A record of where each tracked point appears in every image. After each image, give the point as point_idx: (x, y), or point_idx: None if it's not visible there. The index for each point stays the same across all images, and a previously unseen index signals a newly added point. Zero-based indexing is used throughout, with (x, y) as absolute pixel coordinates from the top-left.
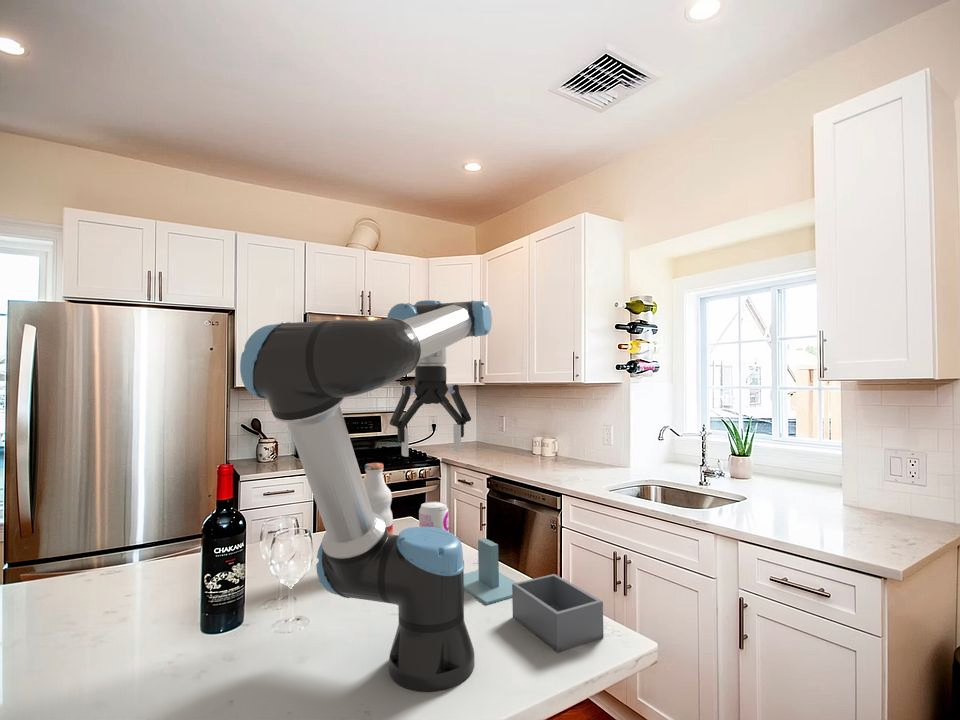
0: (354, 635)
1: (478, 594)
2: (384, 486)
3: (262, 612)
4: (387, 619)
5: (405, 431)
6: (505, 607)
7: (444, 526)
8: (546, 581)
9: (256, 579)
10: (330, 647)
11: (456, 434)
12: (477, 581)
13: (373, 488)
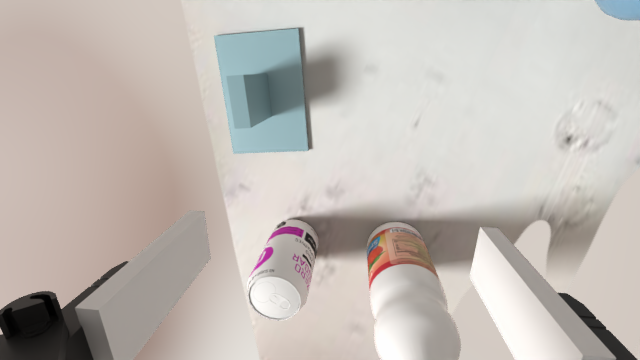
0: (524, 38)
1: (296, 63)
2: (404, 343)
3: (602, 188)
4: (456, 64)
5: (592, 337)
6: (276, 3)
7: (271, 249)
8: None
9: None
10: (572, 17)
11: (155, 283)
12: (276, 112)
13: (437, 342)
